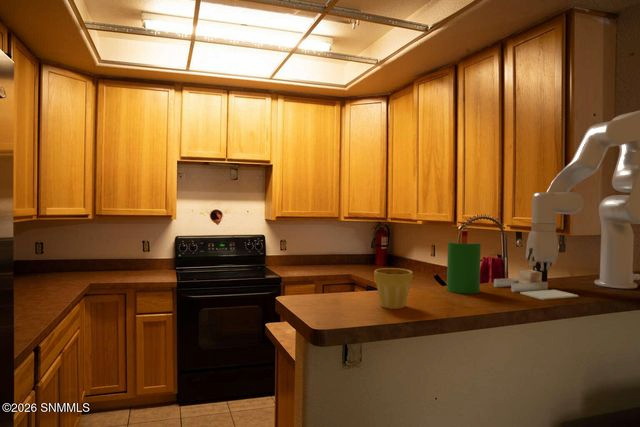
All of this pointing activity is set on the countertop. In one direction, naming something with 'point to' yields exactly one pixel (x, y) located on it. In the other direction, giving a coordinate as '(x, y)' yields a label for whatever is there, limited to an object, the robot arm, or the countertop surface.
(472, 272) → the green cylinder
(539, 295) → the pad
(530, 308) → the countertop surface
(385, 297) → the plant pot
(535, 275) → the plug block
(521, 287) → the housing channel
